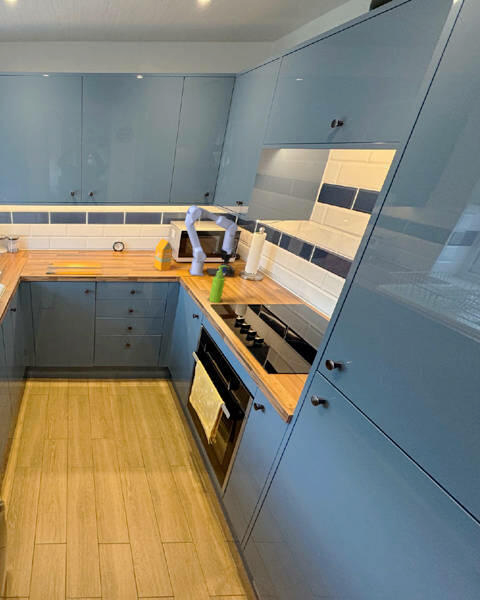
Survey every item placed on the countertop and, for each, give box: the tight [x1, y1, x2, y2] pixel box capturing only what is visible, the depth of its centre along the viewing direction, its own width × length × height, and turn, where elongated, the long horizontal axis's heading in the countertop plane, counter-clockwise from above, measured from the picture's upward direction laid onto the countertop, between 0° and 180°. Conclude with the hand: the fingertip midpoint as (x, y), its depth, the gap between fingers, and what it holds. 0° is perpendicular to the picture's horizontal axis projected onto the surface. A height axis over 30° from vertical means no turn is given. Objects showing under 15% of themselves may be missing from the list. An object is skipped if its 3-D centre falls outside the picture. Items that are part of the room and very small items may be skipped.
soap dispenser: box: [208, 264, 229, 304], centre depth 174 cm, size 6×7×20 cm
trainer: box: [218, 263, 230, 275], centre depth 212 cm, size 11×5×4 cm, turn 147°
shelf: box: [205, 264, 236, 278], centre depth 214 cm, size 11×15×4 cm
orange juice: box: [153, 238, 174, 272], centre depth 221 cm, size 8×9×20 cm
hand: (224, 261), depth 211 cm, fingers open, 7 cm apart
